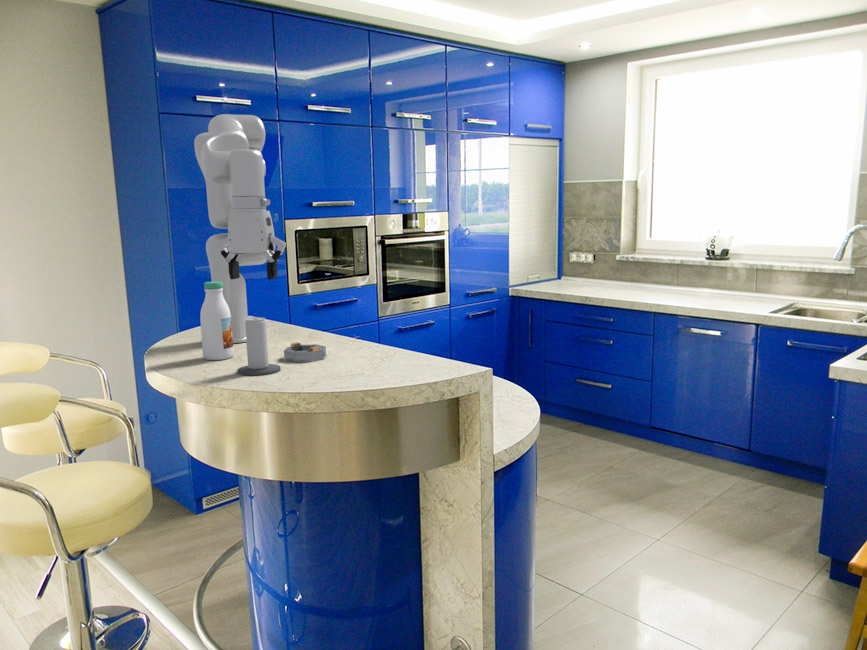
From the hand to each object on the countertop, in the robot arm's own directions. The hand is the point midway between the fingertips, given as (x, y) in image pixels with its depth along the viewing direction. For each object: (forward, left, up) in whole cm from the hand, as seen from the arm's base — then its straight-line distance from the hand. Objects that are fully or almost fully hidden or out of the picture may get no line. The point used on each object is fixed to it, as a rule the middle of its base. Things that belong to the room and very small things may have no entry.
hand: (253, 278), depth 160 cm
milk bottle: (-22, +1, -22) cm, 31 cm away
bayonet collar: (-4, +16, -22) cm, 28 cm away
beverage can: (0, 0, -22) cm, 22 cm away
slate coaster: (0, 0, -22) cm, 22 cm away
